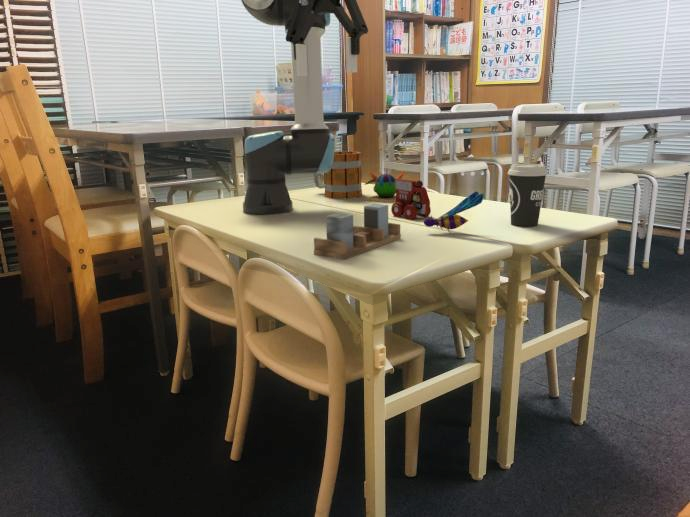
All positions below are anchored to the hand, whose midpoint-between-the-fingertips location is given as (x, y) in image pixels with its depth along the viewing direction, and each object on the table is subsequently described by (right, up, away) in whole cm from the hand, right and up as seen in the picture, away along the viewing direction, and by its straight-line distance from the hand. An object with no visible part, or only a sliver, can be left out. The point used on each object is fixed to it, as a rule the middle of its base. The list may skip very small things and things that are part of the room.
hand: (326, 74), depth 117 cm
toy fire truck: (+23, -28, +36) cm, 51 cm away
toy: (+30, -33, +15) cm, 47 cm away
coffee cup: (+50, -31, +22) cm, 63 cm away
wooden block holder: (+7, -37, +5) cm, 38 cm away
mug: (+1, -17, +76) cm, 78 cm away
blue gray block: (+11, -34, +10) cm, 37 cm away
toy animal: (+17, -20, +65) cm, 70 cm away
